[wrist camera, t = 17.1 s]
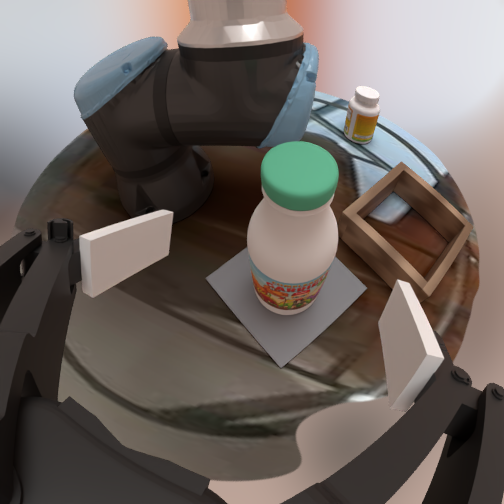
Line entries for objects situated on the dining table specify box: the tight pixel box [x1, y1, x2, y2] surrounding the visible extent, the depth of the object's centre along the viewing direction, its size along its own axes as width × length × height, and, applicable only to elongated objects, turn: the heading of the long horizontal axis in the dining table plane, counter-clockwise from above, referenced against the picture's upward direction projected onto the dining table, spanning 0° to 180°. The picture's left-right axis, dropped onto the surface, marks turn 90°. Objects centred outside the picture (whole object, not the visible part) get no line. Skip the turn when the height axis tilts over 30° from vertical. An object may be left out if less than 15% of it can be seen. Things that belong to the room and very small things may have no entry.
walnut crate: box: [337, 162, 473, 303], centre depth 33 cm, size 14×14×5 cm
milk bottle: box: [247, 141, 339, 315], centre depth 24 cm, size 8×8×20 cm
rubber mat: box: [206, 247, 367, 368], centre depth 34 cm, size 14×14×1 cm
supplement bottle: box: [344, 86, 380, 144], centre depth 41 cm, size 5×5×10 cm
